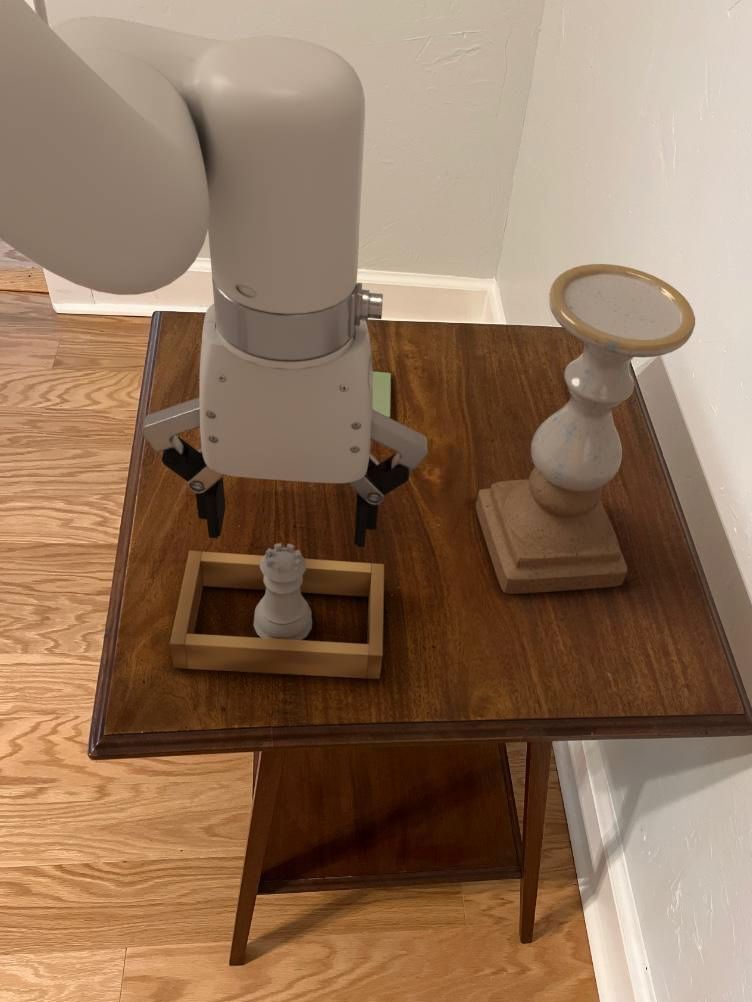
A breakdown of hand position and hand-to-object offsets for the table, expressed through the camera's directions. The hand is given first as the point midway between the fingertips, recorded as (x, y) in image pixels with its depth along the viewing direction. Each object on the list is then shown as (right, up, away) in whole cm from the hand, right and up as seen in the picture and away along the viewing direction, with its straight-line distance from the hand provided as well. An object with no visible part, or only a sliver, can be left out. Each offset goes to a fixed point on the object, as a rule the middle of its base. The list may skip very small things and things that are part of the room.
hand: (289, 527), depth 62 cm
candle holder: (+20, 0, +18) cm, 27 cm away
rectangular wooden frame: (-2, -7, +8) cm, 11 cm away
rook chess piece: (-2, -7, +8) cm, 11 cm away
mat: (-2, +15, +27) cm, 31 cm away
